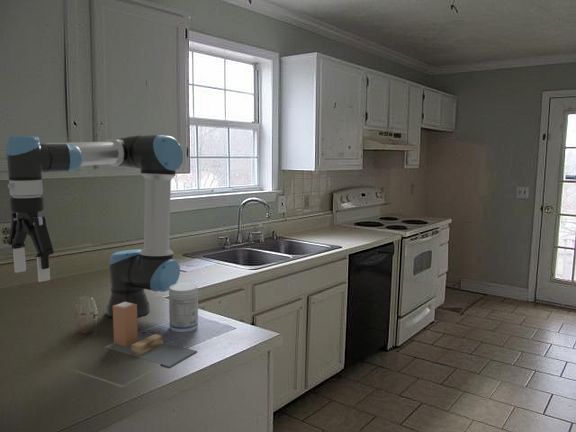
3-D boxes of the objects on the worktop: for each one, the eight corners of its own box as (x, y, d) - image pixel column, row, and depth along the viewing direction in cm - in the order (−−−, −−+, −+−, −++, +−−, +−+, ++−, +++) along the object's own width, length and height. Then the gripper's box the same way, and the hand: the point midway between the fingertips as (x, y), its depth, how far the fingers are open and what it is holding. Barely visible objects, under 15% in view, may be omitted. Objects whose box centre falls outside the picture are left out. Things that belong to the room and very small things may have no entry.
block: (126, 337, 153) (125, 300, 151) (137, 341, 151) (136, 303, 149) (114, 343, 149) (112, 305, 147) (125, 346, 146) (124, 308, 145)
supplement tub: (171, 323, 168) (171, 282, 165) (199, 322, 168) (199, 282, 166) (167, 334, 158) (166, 290, 156) (196, 333, 159) (196, 290, 157)
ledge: (155, 342, 151) (155, 333, 150) (162, 344, 149) (162, 335, 149) (131, 354, 142) (131, 344, 142) (139, 356, 141) (138, 346, 140)
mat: (133, 335, 157) (133, 334, 156) (196, 352, 144) (196, 350, 144) (103, 348, 146) (103, 347, 146) (169, 367, 134) (169, 366, 134)
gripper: (-10, 193, 129) (-4, 270, 132) (34, 201, 114) (40, 288, 117) (20, 191, 135) (25, 265, 138) (65, 198, 120) (69, 281, 123)
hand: (32, 276), depth 128 cm, fingers open, 13 cm apart
